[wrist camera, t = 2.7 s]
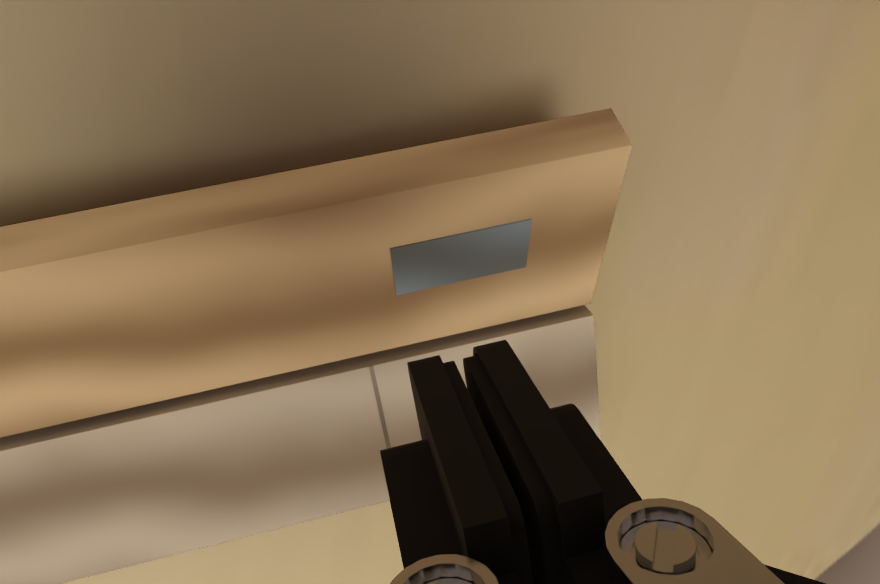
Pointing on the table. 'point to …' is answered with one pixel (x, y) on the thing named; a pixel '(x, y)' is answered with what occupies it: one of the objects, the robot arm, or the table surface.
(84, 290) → the board
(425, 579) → the robot arm
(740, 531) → the table surface
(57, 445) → the floor row
